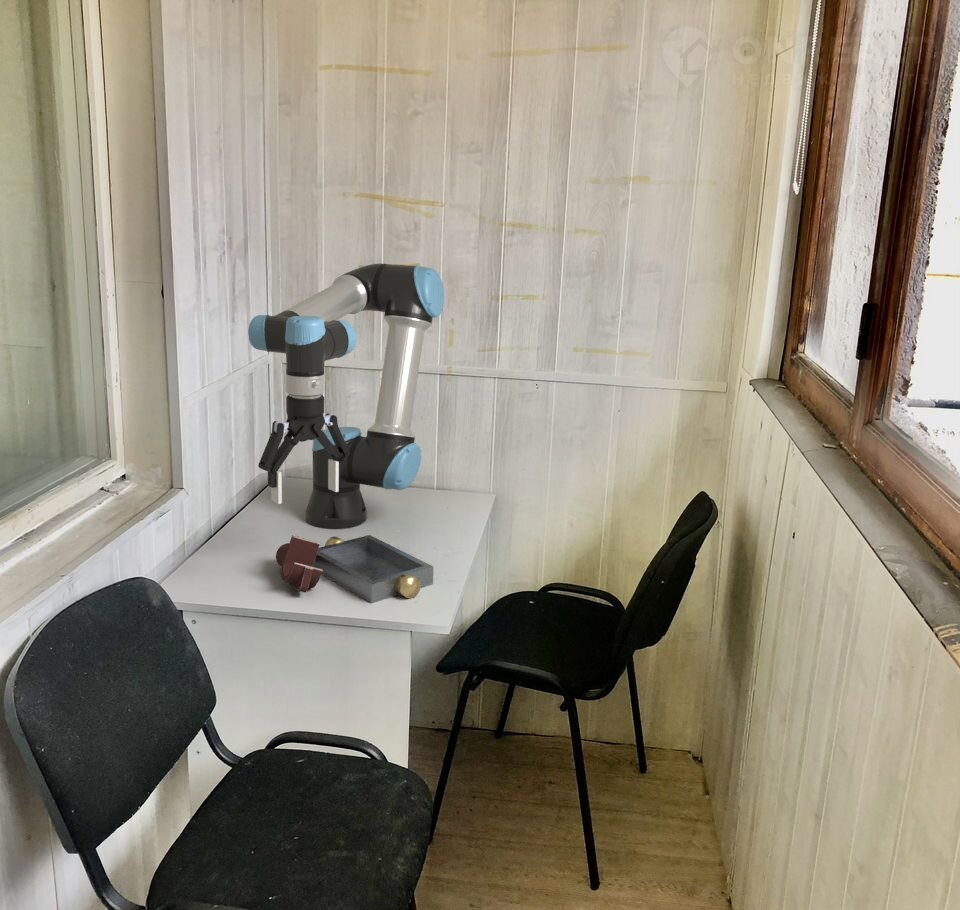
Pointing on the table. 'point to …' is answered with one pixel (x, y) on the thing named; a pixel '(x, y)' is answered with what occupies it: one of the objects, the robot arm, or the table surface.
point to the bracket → (299, 563)
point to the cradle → (372, 568)
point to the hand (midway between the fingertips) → (305, 496)
